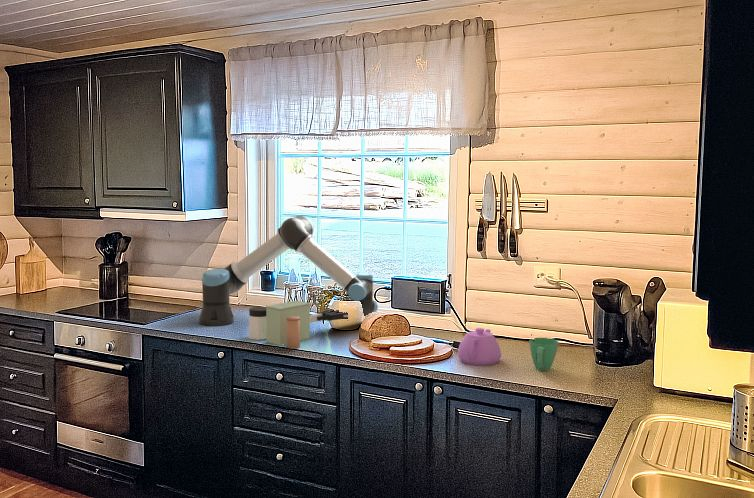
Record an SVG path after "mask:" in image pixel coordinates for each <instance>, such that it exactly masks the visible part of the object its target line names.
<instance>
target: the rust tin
mask: <svg viewBox="0 0 754 498" xmlns="http://www.w3.org/2000/svg"><path fill="white" fill-rule="evenodd" d="M300 347H301V341H300V317H297V316H290V317H287V344H286V349H289V350H290V349H292V350H294V349H299V348H300Z"/></svg>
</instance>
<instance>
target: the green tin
mask: <svg viewBox="0 0 754 498" xmlns="http://www.w3.org/2000/svg"><path fill="white" fill-rule="evenodd" d="M265 307H266V322H267V339H266V343H268V342H269V344H272V343H273V345H276V344H278V345H277V346H283V345H282V344H284V345H287V317H290V316H297V317H300V342H301V341H305V340H308V339H310V338H311V335H310V333H311V332H310V331H311V330H310V329H311V327H310V326H311V323H310V315H311V314H310V313H311V311H310V309H311V302H306V301H301V300H292V301H286V302H282V303H275V304H270V305H266V306H265Z"/></svg>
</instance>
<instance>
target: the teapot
mask: <svg viewBox="0 0 754 498" xmlns="http://www.w3.org/2000/svg"><path fill="white" fill-rule="evenodd" d="M457 356H458V358H459V360H460V361H461V362H462V363H464V364H467V365H471V366H479V367H480V366H481V367H483V366H484V367H485V366H486V367H487V365H488V366H493V365H495V363H496V364H497V363H498V362H499V361H500V359H501V358H502V352H501V347H500V345H499V342H498V340H497V339H496V337H495V335H494V334H493V333H492V332H491V329H485V328H483V327H476V328H475V331H474V330H473V331H468V332H467V333H466V334H465V335H464V337H463V338H462V340H461V341H460V343H459V346H458V349H457Z"/></svg>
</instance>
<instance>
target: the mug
mask: <svg viewBox="0 0 754 498" xmlns="http://www.w3.org/2000/svg"><path fill="white" fill-rule="evenodd" d="M558 347H559V341H558V340H557V339H554V338H549V337H534V339H533V338H530V339H529V350H530V353H531V359H532V362H533V365H534V368H535V370H537V369H539V370H538V371H540V370H548V371H550V370H551V368H552V366H553V363H554V360H555V358H556V355H557V352H558ZM549 369H550V370H549Z"/></svg>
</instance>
